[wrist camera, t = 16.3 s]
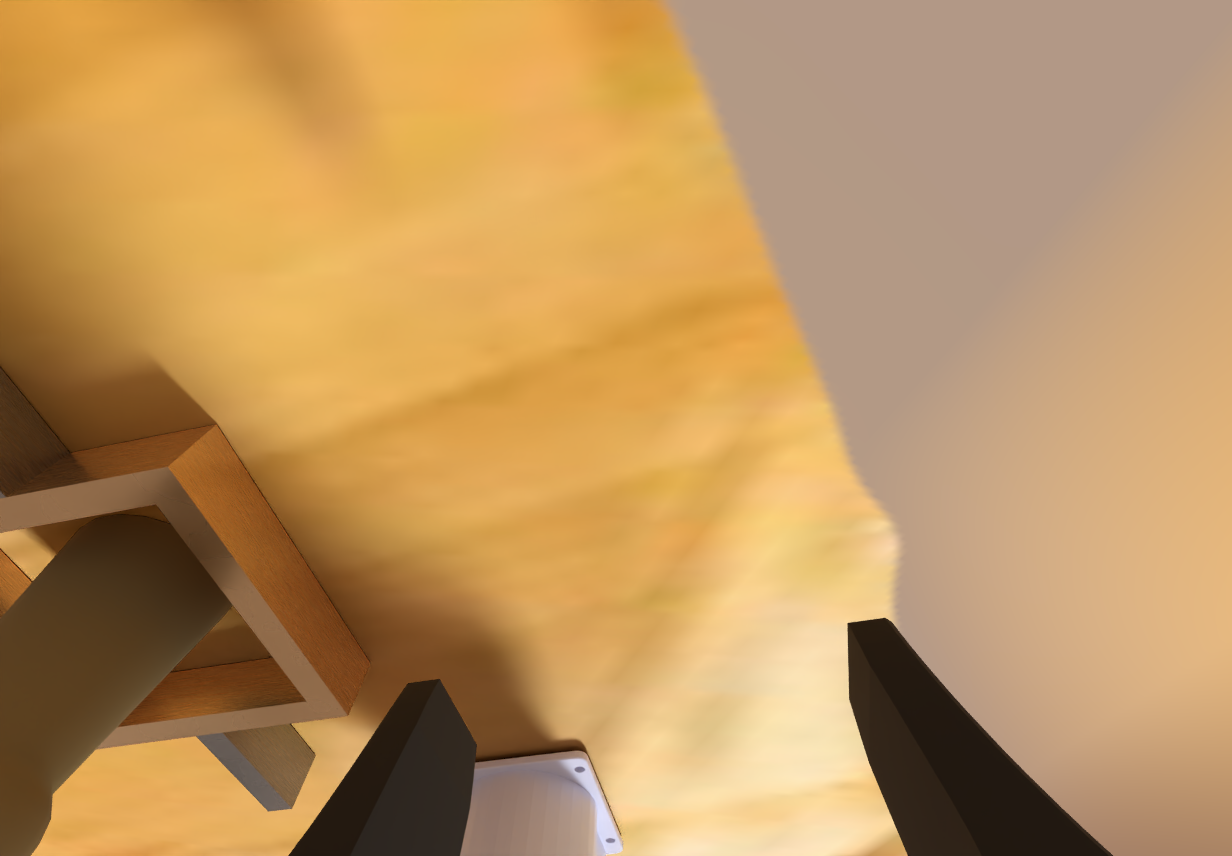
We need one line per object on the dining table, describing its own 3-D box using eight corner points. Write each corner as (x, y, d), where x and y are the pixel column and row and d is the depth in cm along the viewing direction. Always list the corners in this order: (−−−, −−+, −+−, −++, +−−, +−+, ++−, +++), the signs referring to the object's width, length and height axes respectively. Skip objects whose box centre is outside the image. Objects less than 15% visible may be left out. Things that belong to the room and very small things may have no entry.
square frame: (421, 742, 29) (405, 795, 27) (193, 770, 31) (160, 823, 28) (101, 245, 17) (26, 271, 15) (-254, 331, 18) (-369, 365, 16)
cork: (60, 589, 24) (-302, 925, 15) (85, 488, 21) (-338, 817, 12) (214, 646, 26) (-22, 980, 16) (254, 558, 23) (1, 895, 14)
